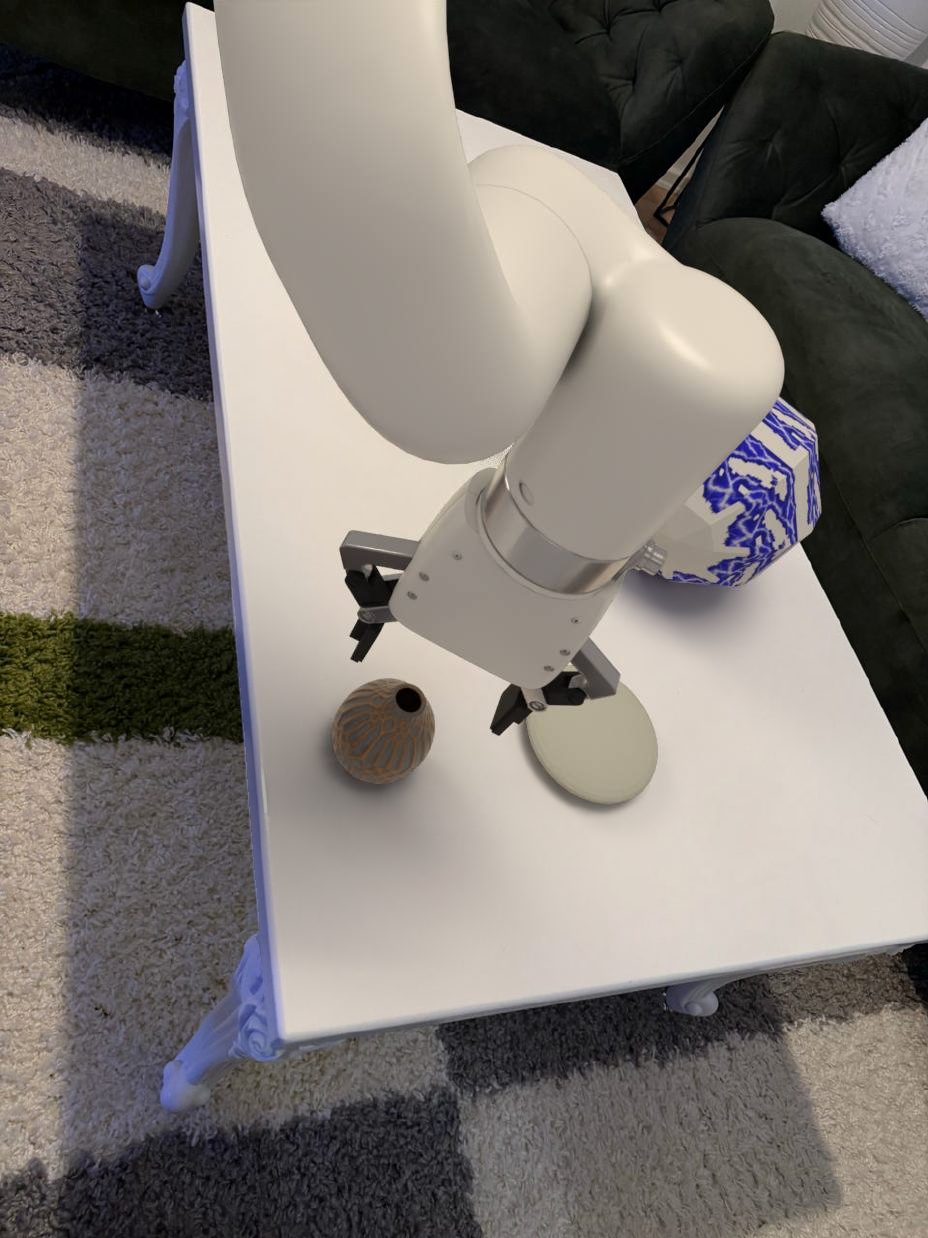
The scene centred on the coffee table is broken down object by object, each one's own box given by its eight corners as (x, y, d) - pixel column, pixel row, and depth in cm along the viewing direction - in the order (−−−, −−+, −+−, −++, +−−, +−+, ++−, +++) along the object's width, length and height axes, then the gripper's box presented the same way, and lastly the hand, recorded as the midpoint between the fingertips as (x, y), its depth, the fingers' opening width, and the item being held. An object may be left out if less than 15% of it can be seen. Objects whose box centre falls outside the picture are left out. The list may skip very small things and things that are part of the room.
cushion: (613, 840, 69) (634, 828, 66) (492, 743, 69) (509, 727, 66) (666, 735, 76) (686, 721, 74) (558, 647, 76) (575, 630, 74)
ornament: (588, 403, 72) (676, 310, 84) (554, 580, 86) (633, 478, 98) (828, 489, 65) (884, 376, 78) (749, 665, 80) (807, 545, 92)
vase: (327, 698, 65) (364, 641, 58) (415, 718, 67) (460, 665, 60) (315, 785, 61) (352, 736, 54) (408, 804, 63) (455, 758, 57)
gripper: (723, 550, 45) (565, 696, 58) (425, 380, 43) (331, 572, 56) (704, 661, 40) (537, 792, 54) (368, 477, 38) (281, 661, 52)
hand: (432, 680), depth 55 cm, fingers open, 9 cm apart
